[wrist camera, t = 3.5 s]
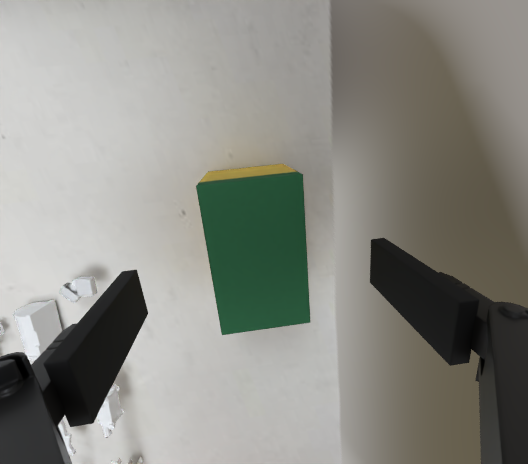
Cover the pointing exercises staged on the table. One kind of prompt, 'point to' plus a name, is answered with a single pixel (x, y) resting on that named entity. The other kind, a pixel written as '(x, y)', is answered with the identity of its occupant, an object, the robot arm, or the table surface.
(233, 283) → the sponge
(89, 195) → the table surface
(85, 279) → the miniature set
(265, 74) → the table surface
